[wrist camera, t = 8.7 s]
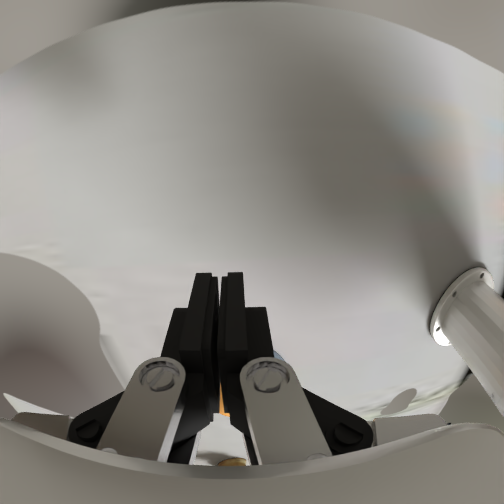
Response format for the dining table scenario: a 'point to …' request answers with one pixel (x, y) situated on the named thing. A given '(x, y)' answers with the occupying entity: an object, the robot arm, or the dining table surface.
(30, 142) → the dining table surface
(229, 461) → the chocolate bunny
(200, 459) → the dining table surface
